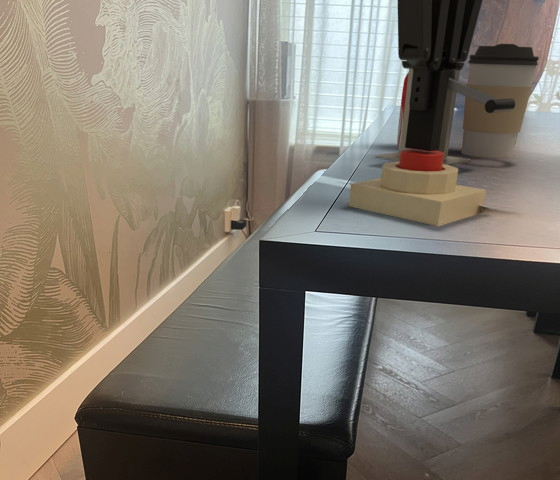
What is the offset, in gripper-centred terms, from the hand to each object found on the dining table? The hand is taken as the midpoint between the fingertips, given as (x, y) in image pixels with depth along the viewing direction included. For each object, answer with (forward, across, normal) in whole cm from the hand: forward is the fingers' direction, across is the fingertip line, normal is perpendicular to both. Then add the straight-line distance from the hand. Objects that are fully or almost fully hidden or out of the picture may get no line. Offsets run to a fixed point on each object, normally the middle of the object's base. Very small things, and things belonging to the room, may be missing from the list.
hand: (421, 148), depth 56 cm
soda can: (+6, -32, -20) cm, 38 cm away
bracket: (+6, -23, -14) cm, 28 cm away
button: (+2, 0, 0) cm, 2 cm away
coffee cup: (+6, -35, -11) cm, 37 cm away
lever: (-3, -23, -10) cm, 25 cm away
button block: (+6, 0, 0) cm, 6 cm away
